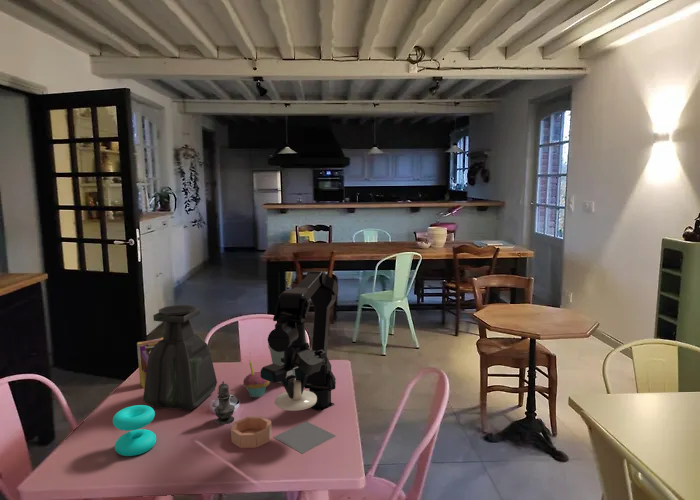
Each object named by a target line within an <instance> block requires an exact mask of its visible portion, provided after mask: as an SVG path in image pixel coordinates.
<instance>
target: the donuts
mask: <svg viewBox="0 0 700 500" xmlns="http://www.w3.org/2000/svg"><path fill="white" fill-rule="evenodd" d="M155 415H156V412H155V410H154V407H151V405H146V404H145V405H144V404H138V405H137V404H136V405H135V404H134V405H131V406H126V407H124V408H122V409H120V410H119V411H117V412H116V413H115V414H114V416H113V417H112V425H113V426H114V427H115V428H116V429H118V430H120V431H127V432H126V433H123V434H122V435H120V437H118V438H117V439H116V442H114V443H115V444H114V450H115V452H116V453H117V454H119V455H120V456H124V457H133V456H139V455H142V454H145V453H147V452H148V451H150V450H152V448H154V446H155V445H156V443H157V435H156V433H155V432H153V430H150V429H145V428H144V427H146V426H148V425H150V424H151V423H152V422H153V420H154V419H155Z"/></svg>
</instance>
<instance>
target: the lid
mask: <svg viewBox="0 0 700 500" xmlns="http://www.w3.org/2000/svg"><path fill="white" fill-rule="evenodd" d="M274 401H275V402H274V403H275V406H276V407H277V408H279V409H281V410H284V411H291V412H294V411H295V412H296V411H303V410H307V409H311V408H310V407H312V406H314V405H315V404H316V402H317V396H316V395H315V394H314V393H313V392H310V391H309V390H307V389H304V390H303V393H302V395H301V381H299V380H296V379H294V395H293V398H292V399H291V398H290V397H289V396H288V394H287V392H286V391H284V392H282V393H280V394H278V395H276V397H275V399H274Z"/></svg>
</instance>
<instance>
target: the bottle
mask: <svg viewBox="0 0 700 500" xmlns="http://www.w3.org/2000/svg"><path fill="white" fill-rule="evenodd" d="M200 314H201V309H200V307H196V306H195V305H190V304H174V305H169V306H164V307H162V308H159V309H158V312H157V313H155V314H153V322H162V323H166V324H165V329H164V332H163V337H162V338H163V340H161V341H159V342H158V343H157V344H156V345H155V346H154V347H153V349H152V350H151V352H150V355H149V358H148V365H147V373H146V381H145V388H143V389H144V390H143V398H142V401H143V402H144V403H146V404H148V405H149V406H150V407H151V406H152V408H157V409H158V408H159V409H170V410H171V409H173V410H184V411H185V410H186V411H191V410H193V409H195V408H197V407H198V406H199V405H200V404H202V403H203V402H204V401H205V400H206V399H207V398H208V397H209V396H211V394H212V393H214V391H215V390H216V387H217V384H218V379H217V376H216V372H215V367H214V363H213V360H212V359H213V358H212V356H211V351H210V347H209V345H208V343H206V341H205V340H203V338H202V337H201V336H200V334H195V332H194V329H193V328H192V325H191V322H190V320H191V319H193V318H195V317H196V316H199V315H200Z"/></svg>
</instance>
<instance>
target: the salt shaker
mask: <svg viewBox="0 0 700 500" xmlns="http://www.w3.org/2000/svg"><path fill="white" fill-rule="evenodd" d="M217 387H218V395H217V399H218V405H217V406H216V407H215V408H214V409H213V412H215V413H214V414H215V416H216V417H217V418H216V420H215V423H216V424H217V425H220V426H221V425H222V426H225V425H228V424H232V423H234V422H235V417H234V416H233V414H234V413H235V409H236V407H235V405H234V404H232V403H231V402H230V397H231V394H230V390H229V388H230V387H229V385H228V383H225V381H224V380H223V381H222V382H221V384H219V385H218V386H217Z"/></svg>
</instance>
